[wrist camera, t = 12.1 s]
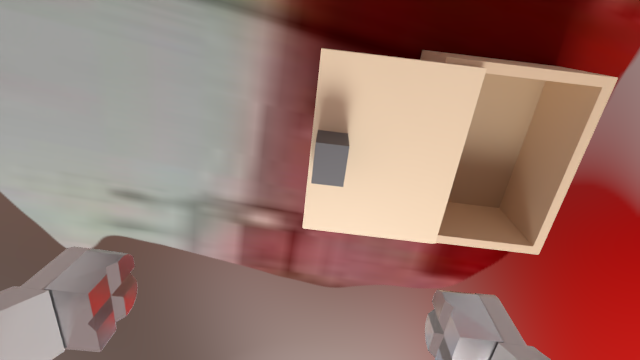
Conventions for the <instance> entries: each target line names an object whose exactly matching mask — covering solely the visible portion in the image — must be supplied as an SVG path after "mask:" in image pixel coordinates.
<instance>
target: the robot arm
mask: <svg viewBox="0 0 640 360" xmlns="http://www.w3.org/2000/svg"><path fill="white" fill-rule="evenodd" d="M134 267H135V264H134V259H133V256H131V255H130V254H127V253H120V252H113V251H105V250H98V249H89V248H82V247H70V248H67V249H66V250H65V251H63V252H62V253H61V254H60V255H59V256H57V257H56V258H55V259H54V260H53V261H51V262H50V263H49V264H48V265H46V266H45V267H44V268H43V269H41V270H40V271H39V272H38V273H37V274H36V275H34V276H33V277H32V278H31V279H29V280H28V281H27V282H26V283H24V284H23V285H22V286H21V287H11V288H8V289H6V290H3V291H0V360H52V359H53V358H55V357H56V356H58V355H59V354H61V353H62V352H64V351H65V349H72V350H83V351H95V352H101V351H102V349H103V348H104V346H105V345H106V344H107V342H108V341H109V339H110V338H111V337H112V335H113V334H114V333H115V331H116V323H115V322H117V321H119V320H120V319H122V318H124V317H126V316H127V315H128V313H129V312H130V310H131V309H132V307H133V305H134V302H135V299H136V297H137V288H138V287H137V280H136V279H135V278H134V277H133V276H132V274H131V273H130V272H131V271H132V270H133V268H134ZM432 302H433V305H434V308H435V309H434V310H433V311H432V312H430V313H429V314H428V316H427V320H426V324H425V339H426V344H427V348H428V351H429V352H430V353H431V354H432V355H433V356H434V357H435V360H550V359H549V358H548V357H546V356H545V355H544V354H542V353H541V352H540V351H538V350H537V349H536V348H534V347H533V346H527V345H526V343H525V342H524V340H523V339H522V337H521V335H520V333H519V332H518V330H517V328H516V327H515V325H514V324H513V322H512V320H511V319H510V317H509V315H508V313H507V312H506V310H505V308H504V307H503V305H502V303H501V302H500V300H499V299H498V298H497V297H496V296H495V295H487V294H476V293H475V294H471V293H461V292H453V291H444V290H437V291H436V293H435V294H434V297H433V300H432Z"/></svg>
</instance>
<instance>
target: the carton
mask: <svg viewBox="0 0 640 360" xmlns="http://www.w3.org/2000/svg"><path fill="white" fill-rule="evenodd" d="M420 60H426V61H434V62H442V63H450V64H459V65H467V66H475V67H484V68H487V70H486V73H485V77H484V80H483V83H482V87H481V90H480V94H479V97H478V100H477V104H476V107H475V110H474V114H473V117H472V121H471V124H470V127H469V131H468V134H467V138H466V141H465V144H464V148H463V151H462V155H461V158H460V161H459V165H458V168H457V172H456V175H455V178H454V182H453V185H452V188H451V192H450V195H449V199H448V202H447V205H446V209H445V212H444V216H443V219H442V222H441V226H440V229H439V233H438V236H437V239H436V243H444V244H452V245H461V246H469V247H478V248H486V249H495V250H503V251H512V252H520V253H529V254H539V253H540V251H541V249H542V246H543V244H544V242H545V239H546V237H547V235H548V233H549V231H550V228H551V226H552V223H553V222H554V219H555V217H556V215H557V213H558V210H559V208H560V206H561V204H562V202H563V199H564V197H565V195H566V193H567V190H568V188H569V186H570V184H571V182H572V179H573V177H574V175H575V173H576V170H577V168H578V166H579V164H580V161H581V159H582V157H583V155H584V152H585V150H586V148H587V146H588V144H589V141H590V139H591V137H592V135H593V132H594V130H595V128H596V126H597V124H598V121H599V119H600V117H601V115H602V112H603V110H604V108H605V106H606V103H607V101H608V99H609V97H610V95H611V92H612V90H613V88H614V86H615V83H616V81H617V79H618V78H617V77H612V76H606V75H601V74H596V73H591V72H585V71H580V70H575V69H570V68H564V67H559V66H553V65H544V64H536V63H528V62H520V61H511V60H503V59H495V58H487V57H478V56H470V55H462V54H453V53H445V52H437V51H429V50H422V53H421V58H420Z"/></svg>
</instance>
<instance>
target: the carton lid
mask: <svg viewBox="0 0 640 360" xmlns="http://www.w3.org/2000/svg"><path fill="white" fill-rule="evenodd" d="M486 70H487V68H484V67H475V66H467V65H459V64H450V63H442V62H434V61H426V60H417V59H409V58H401V57H393V56H384V55H376V54H368V53H359V52H351V51H343V50H335V49H326V48H321V56H320V66H319V75H318V85H317V94H316V104H315V113H314V123H313V132H312V142H311V151H310V161H309V170H308V180H307V189H306V199H305V208H304V218H303V228H304V229H313V230H321V231H330V232H338V233H347V234H355V235H364V236H372V237H381V238H389V239H398V240H406V241H415V242H423V243H432V244H435V243H436V239H437V236H438V233H439V229H440V226H441V222H442V219H443V216H444V212H445V209H446V205H447V202H448V199H449V195H450V192H451V188H452V185H453V182H454V178H455V175H456V172H457V168H458V165H459V161H460V158H461V155H462V151H463V148H464V144H465V141H466V138H467V134H468V131H469V127H470V124H471V121H472V117H473V114H474V110H475V107H476V104H477V100H478V97H479V94H480V90H481V87H482V83H483V80H484V77H485V73H486Z"/></svg>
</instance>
